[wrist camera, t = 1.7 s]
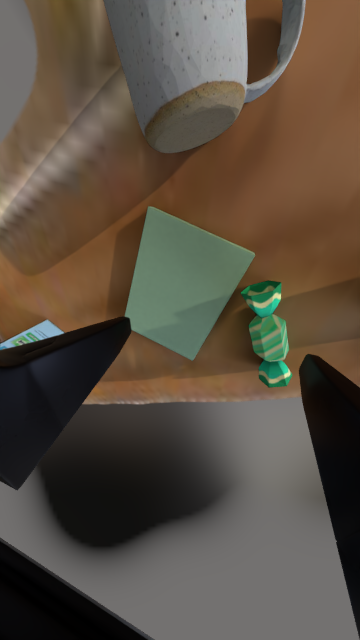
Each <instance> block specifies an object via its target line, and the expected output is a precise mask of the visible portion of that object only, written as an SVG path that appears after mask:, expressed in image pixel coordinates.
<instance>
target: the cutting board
mask: <svg viewBox="0 0 360 640" xmlns="http://www.w3.org/2000/svg"><path fill="white" fill-rule="evenodd" d="M254 256H255V253H254V252H252V251H249V250H247V249H245V248H243V247H241V246H238V245H236V244H234V243H232V242H230V241H227V240H225V239H223V238H221V237H219V236H216V235H214V234H212V233H210V232H208V231H205V230H203V229H201V228H199V227H197V226H194V225H192V224H190V223H188V222H186V221H183V220H181V219H179V218H177V217H175V216H172V215H170V214H168V213H166V212H164V211H161V210H159V209H157V208H155V207H150V206H148V210H147V214H146V219H145V224H144V228H143V233H142V238H141V242H140V247H139V252H138V256H137V261H136V266H135V270H134V275H133V280H132V285H131V289H130V294H129V299H128V303H127V308H126V313H125V317H129V318H130V322H131V330H133V331H135V332H137V333H139V334H141V335H143V336H145V337H147V338H149V339H151V340H153V341H155V342H157V343H159V344H161V345H163V346H165V347H167V348H169V349H171V350H173V351H174V352H176V353H178V354H180V355H182V356H184V357H186V358H188V359H190V360H192V361H193V359H194V358H195V356H196V354H197V353H198V351H199V349H200V348H201V346H202V344H203V342H204V341H205V339H206V337H207V336H208V334H209V332H210V331H211V329H212V327H213V326H214V324H215V322H216V321H217V319H218V317H219V315H220V314H221V312H222V310H223V309H224V307H225V305H226V304H227V302H228V300H229V299H230V297H231V295H232V293H233V292H234V290H235V288H236V287H237V285H238V283H239V282H240V280H241V278H242V277H243V275H244V273H245V272H246V270H247V268H248V266H249V265H250V263H251V261H252V260H253V258H254Z"/></svg>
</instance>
